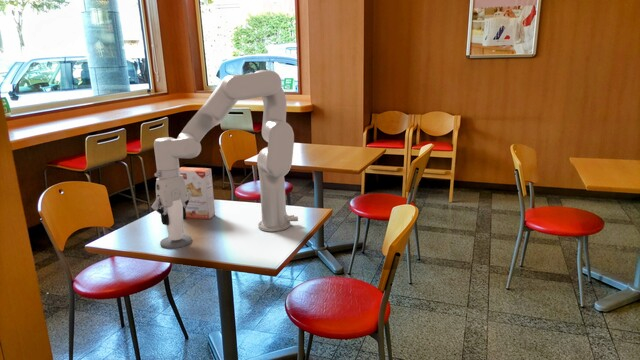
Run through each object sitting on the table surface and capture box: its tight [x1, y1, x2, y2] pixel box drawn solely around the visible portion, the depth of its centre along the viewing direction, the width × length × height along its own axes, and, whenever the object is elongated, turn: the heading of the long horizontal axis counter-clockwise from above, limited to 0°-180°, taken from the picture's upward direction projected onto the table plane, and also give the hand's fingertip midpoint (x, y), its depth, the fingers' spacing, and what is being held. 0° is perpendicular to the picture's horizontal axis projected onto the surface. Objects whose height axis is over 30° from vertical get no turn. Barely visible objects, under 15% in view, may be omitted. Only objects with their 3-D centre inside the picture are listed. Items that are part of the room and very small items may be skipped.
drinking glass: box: [163, 199, 185, 241], centre depth 159 cm, size 7×7×15 cm
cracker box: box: [180, 166, 216, 220], centre depth 186 cm, size 14×6×21 cm, turn 77°
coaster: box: [159, 234, 193, 250], centre depth 161 cm, size 11×11×1 cm
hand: (174, 221), depth 159 cm, fingers closed on drinking glass, 6 cm apart
